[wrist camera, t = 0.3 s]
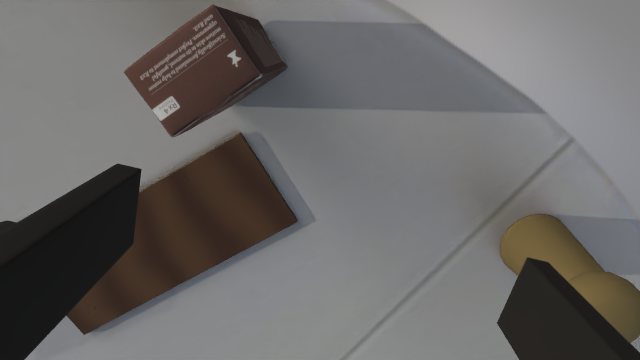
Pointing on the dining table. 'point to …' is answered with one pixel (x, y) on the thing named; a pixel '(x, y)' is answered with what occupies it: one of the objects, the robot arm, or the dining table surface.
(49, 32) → the dining table surface
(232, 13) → the box
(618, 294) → the wooden peg doll
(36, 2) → the dining table surface
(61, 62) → the dining table surface
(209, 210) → the strip
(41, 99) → the dining table surface
